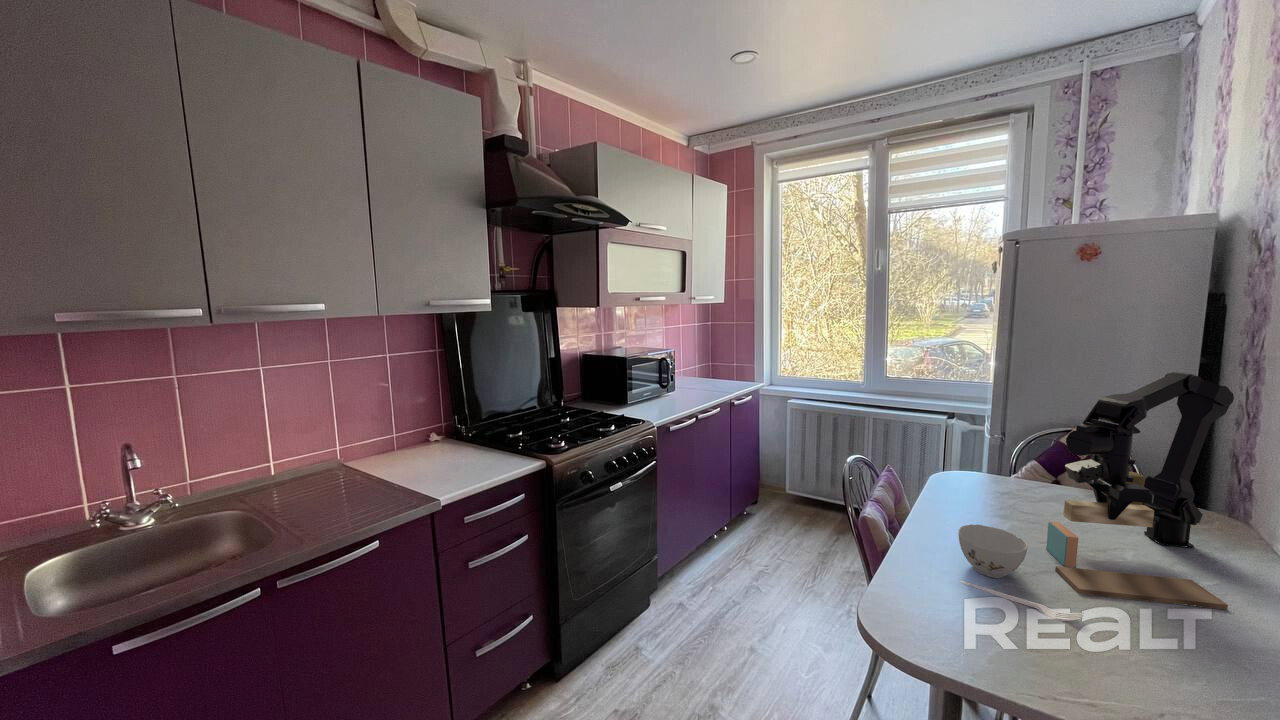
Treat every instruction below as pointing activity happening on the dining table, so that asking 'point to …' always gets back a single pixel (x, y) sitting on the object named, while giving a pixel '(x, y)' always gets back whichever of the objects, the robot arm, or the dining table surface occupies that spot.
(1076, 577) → the rest board
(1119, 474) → the robot arm
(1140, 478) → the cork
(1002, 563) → the floral ceramic bowl
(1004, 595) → the fork
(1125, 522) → the oak scraper
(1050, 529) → the glazed tile
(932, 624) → the dining table surface
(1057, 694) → the dining table surface
